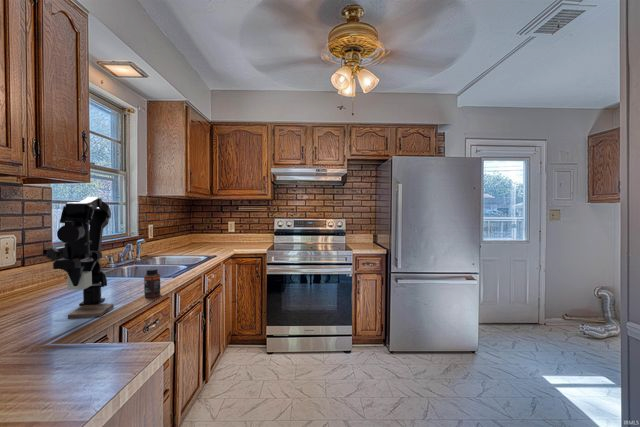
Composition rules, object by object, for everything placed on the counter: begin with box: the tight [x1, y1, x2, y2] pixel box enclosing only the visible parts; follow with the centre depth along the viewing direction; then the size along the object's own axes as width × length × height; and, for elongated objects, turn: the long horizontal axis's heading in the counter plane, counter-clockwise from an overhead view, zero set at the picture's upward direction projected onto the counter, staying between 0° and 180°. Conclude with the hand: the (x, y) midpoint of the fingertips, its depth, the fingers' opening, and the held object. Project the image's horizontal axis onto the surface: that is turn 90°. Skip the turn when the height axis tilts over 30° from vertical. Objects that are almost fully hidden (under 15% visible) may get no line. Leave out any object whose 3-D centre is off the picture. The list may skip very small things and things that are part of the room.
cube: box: [66, 271, 92, 291], centre depth 110 cm, size 5×5×5 cm
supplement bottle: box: [143, 267, 161, 299], centre depth 133 cm, size 6×6×11 cm
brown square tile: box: [67, 303, 115, 319], centre depth 113 cm, size 10×10×1 cm
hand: (80, 283), depth 110 cm, fingers closed on cube, 5 cm apart
